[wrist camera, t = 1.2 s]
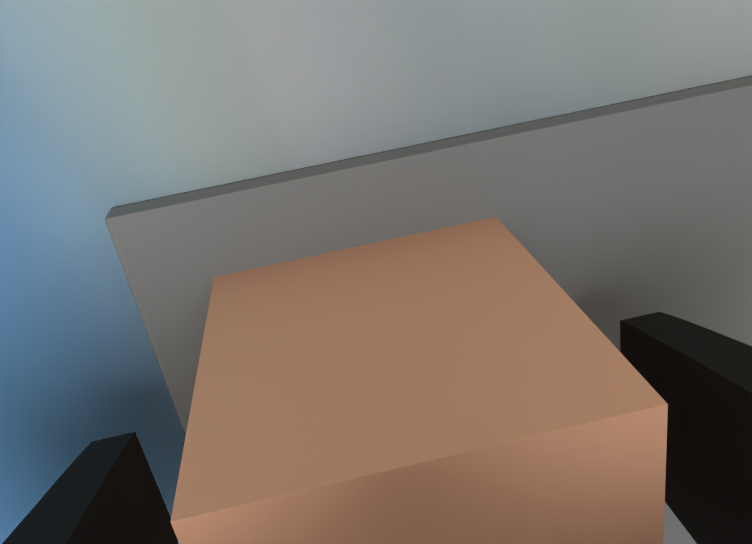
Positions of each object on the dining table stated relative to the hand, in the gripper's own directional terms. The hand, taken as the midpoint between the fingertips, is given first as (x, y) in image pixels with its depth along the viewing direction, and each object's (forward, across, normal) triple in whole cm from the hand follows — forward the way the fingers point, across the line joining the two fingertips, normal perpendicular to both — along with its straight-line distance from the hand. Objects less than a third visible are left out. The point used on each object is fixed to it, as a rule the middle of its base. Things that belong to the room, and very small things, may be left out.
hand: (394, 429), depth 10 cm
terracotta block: (+2, 0, 0) cm, 2 cm away
